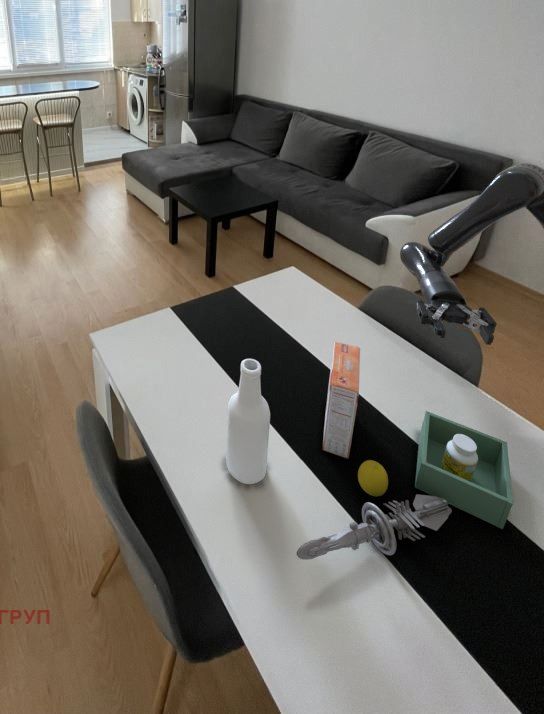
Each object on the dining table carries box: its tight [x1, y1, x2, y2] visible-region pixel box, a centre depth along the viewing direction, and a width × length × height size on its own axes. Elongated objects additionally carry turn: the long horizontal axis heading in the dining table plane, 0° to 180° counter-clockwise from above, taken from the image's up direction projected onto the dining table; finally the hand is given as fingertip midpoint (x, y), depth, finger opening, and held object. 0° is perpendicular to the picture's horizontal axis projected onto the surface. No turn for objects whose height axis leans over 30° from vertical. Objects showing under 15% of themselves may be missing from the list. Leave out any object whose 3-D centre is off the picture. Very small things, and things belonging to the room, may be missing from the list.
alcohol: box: [225, 358, 271, 485], centre depth 91 cm, size 9×9×30 cm
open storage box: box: [414, 410, 514, 530], centre depth 90 cm, size 15×15×8 cm
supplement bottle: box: [441, 434, 478, 482], centre depth 90 cm, size 5×5×10 cm
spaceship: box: [295, 494, 453, 561], centre depth 80 cm, size 8×35×8 cm
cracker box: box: [322, 341, 361, 460], centre depth 99 cm, size 14×6×21 cm, turn 154°
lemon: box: [357, 459, 389, 497], centre depth 89 cm, size 6×6×8 cm
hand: (466, 338), depth 91 cm, fingers open, 8 cm apart
